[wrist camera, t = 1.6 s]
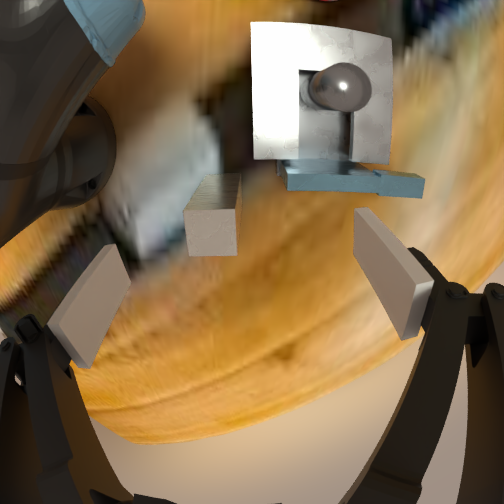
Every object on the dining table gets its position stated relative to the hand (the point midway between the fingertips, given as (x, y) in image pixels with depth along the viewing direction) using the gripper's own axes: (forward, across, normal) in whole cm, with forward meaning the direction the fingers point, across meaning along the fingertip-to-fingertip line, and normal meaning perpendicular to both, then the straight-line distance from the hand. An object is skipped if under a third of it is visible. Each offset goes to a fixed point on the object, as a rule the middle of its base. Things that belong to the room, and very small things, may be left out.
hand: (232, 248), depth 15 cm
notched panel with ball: (+19, +10, +6) cm, 23 cm away
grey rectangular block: (+19, -2, -2) cm, 19 cm away
